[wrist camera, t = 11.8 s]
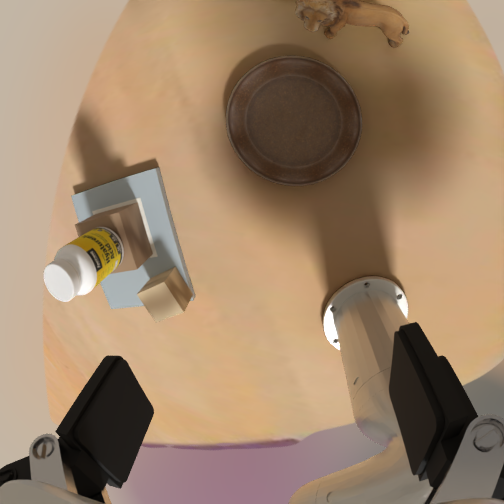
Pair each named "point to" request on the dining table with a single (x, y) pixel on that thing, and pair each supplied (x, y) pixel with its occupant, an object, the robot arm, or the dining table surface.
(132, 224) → the walnut block
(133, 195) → the board
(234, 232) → the dining table surface
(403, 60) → the dining table surface
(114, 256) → the supplement bottle
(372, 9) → the lion figurine
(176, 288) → the oak cube
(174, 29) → the dining table surface
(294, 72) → the saucer
